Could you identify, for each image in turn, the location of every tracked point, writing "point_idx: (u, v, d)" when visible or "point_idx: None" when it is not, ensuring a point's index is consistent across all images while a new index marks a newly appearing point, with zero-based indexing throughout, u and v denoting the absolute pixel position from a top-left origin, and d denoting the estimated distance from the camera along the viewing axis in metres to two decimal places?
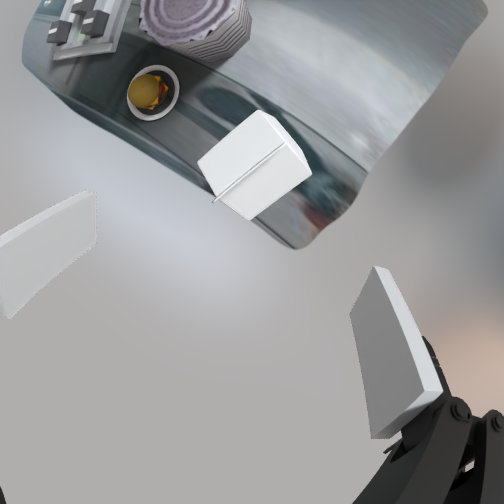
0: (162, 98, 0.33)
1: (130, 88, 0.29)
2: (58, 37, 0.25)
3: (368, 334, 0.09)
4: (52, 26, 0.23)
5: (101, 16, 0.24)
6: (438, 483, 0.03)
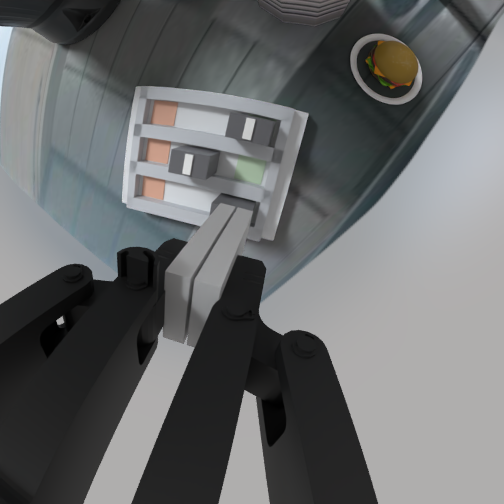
0: None
1: (396, 71, 0.19)
2: (246, 208, 0.27)
3: None
4: None
5: None
6: (220, 392, 0.05)
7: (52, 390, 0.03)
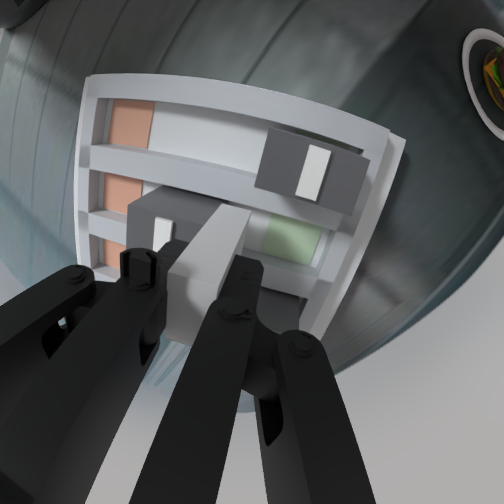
0: None
1: None
2: (287, 321, 0.14)
3: None
4: None
5: (294, 133, 0.11)
6: (217, 391, 0.05)
7: (54, 391, 0.03)
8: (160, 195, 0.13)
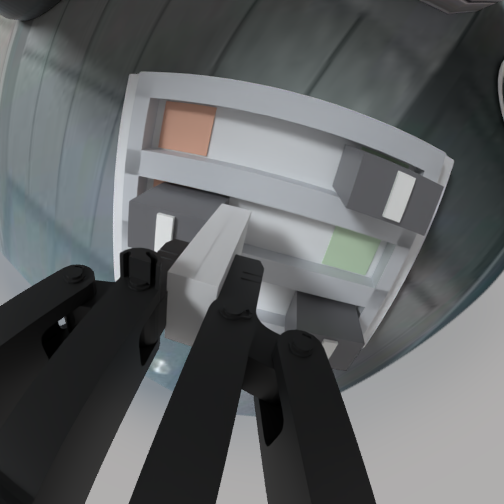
0: None
1: None
2: (352, 331, 0.14)
3: None
4: None
5: None
6: (217, 391, 0.05)
7: (54, 391, 0.03)
8: (161, 191, 0.13)
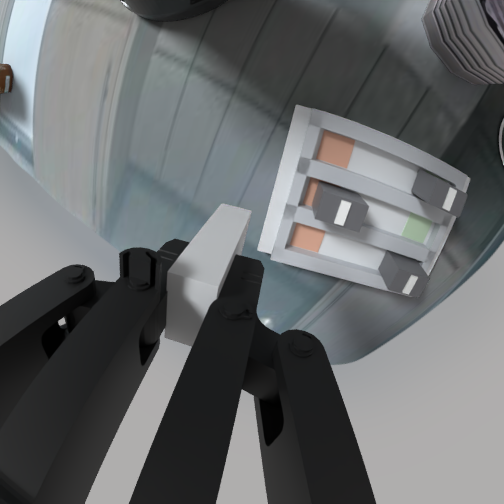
0: None
1: None
2: (422, 272, 0.23)
3: None
4: (397, 287, 0.23)
5: None
6: (217, 391, 0.05)
7: (53, 391, 0.03)
8: (328, 187, 0.22)
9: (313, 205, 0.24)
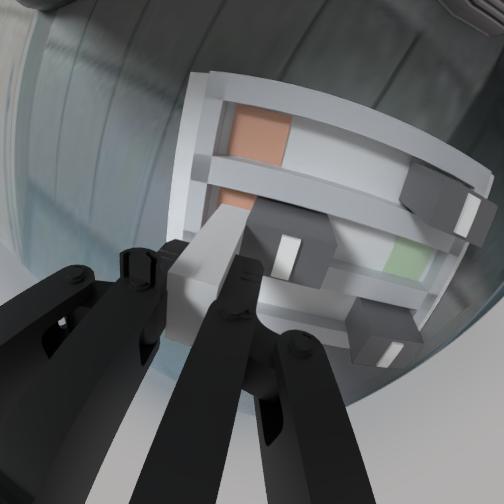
0: None
1: None
2: (412, 332, 0.14)
3: None
4: (368, 359, 0.14)
5: None
6: (217, 391, 0.05)
7: (54, 391, 0.03)
8: (267, 209, 0.13)
9: None
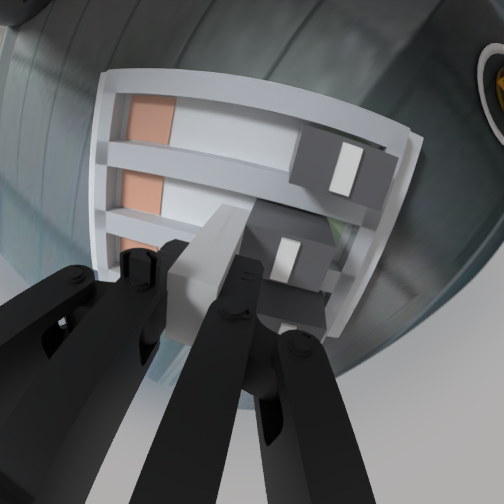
0: None
1: None
2: (314, 316, 0.14)
3: None
4: None
5: None
6: (217, 391, 0.05)
7: (54, 391, 0.03)
8: (266, 211, 0.13)
9: None
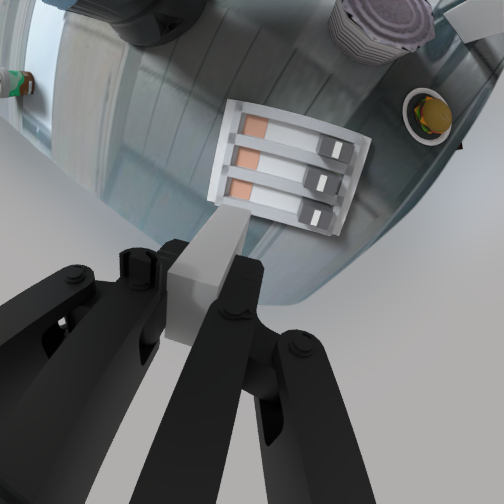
0: None
1: (436, 124, 0.27)
2: (327, 210, 0.34)
3: None
4: (305, 220, 0.34)
5: None
6: (218, 391, 0.05)
7: (53, 391, 0.03)
8: (313, 168, 0.33)
9: (303, 180, 0.35)
